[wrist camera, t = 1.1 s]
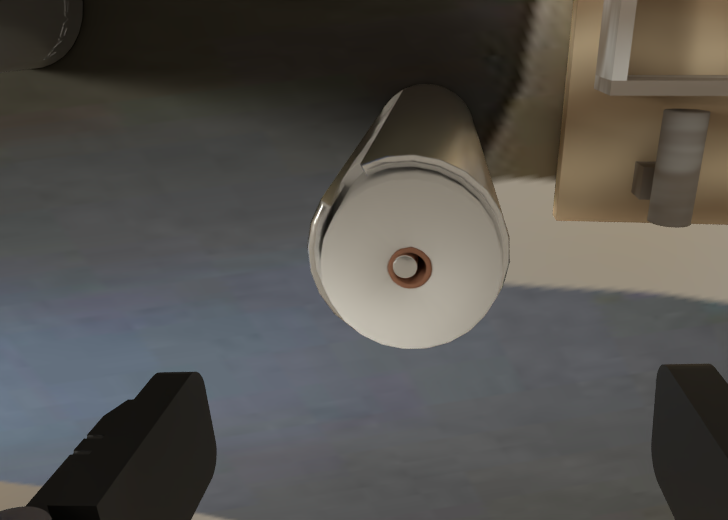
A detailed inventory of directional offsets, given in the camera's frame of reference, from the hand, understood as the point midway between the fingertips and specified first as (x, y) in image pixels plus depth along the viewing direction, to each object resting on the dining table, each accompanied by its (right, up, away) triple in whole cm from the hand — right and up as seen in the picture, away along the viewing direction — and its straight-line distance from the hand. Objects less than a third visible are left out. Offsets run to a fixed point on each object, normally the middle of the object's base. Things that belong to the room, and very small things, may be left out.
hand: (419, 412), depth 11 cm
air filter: (+3, +11, +31) cm, 34 cm away
